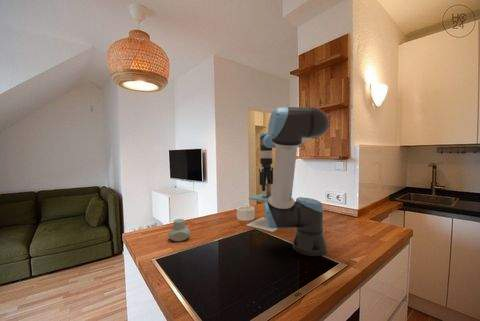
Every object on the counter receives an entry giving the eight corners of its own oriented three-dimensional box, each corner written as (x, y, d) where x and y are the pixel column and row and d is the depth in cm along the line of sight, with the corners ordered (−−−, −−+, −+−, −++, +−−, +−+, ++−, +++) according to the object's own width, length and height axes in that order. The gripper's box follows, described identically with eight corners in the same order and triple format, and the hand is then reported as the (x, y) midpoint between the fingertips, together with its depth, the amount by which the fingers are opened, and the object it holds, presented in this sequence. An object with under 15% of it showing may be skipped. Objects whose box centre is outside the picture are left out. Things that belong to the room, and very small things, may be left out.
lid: (271, 202, 121) (271, 186, 121) (248, 199, 131) (248, 184, 131) (284, 197, 134) (284, 183, 134) (262, 194, 144) (262, 181, 144)
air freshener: (168, 243, 108) (167, 224, 108) (169, 237, 116) (168, 219, 115) (190, 240, 111) (190, 221, 110) (190, 234, 119) (189, 217, 118)
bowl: (247, 222, 138) (247, 211, 137) (233, 219, 145) (233, 208, 145) (257, 217, 147) (257, 207, 147) (244, 214, 155) (243, 205, 154)
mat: (272, 232, 120) (272, 231, 120) (245, 225, 132) (245, 224, 132) (287, 223, 135) (287, 222, 135) (262, 217, 147) (262, 217, 147)
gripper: (268, 157, 141) (268, 192, 142) (252, 158, 127) (253, 197, 128) (278, 157, 136) (279, 193, 137) (263, 158, 122) (264, 198, 123)
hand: (266, 195), depth 133 cm, fingers closed on lid, 5 cm apart
